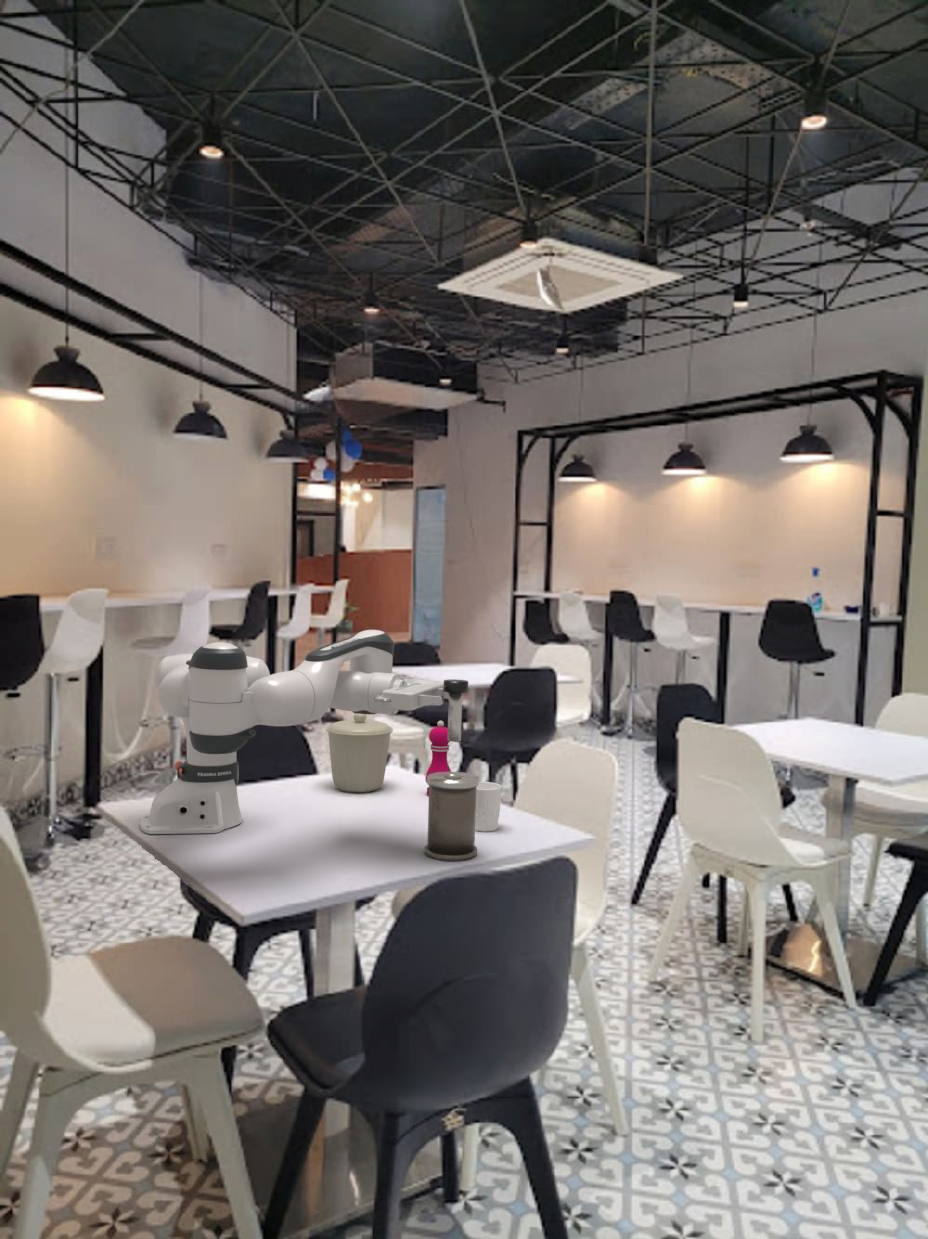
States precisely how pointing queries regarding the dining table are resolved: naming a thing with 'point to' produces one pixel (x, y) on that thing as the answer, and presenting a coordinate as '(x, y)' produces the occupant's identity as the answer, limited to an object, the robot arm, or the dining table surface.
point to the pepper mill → (438, 750)
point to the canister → (358, 753)
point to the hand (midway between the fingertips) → (449, 698)
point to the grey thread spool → (451, 816)
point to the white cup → (487, 806)
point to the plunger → (455, 707)
